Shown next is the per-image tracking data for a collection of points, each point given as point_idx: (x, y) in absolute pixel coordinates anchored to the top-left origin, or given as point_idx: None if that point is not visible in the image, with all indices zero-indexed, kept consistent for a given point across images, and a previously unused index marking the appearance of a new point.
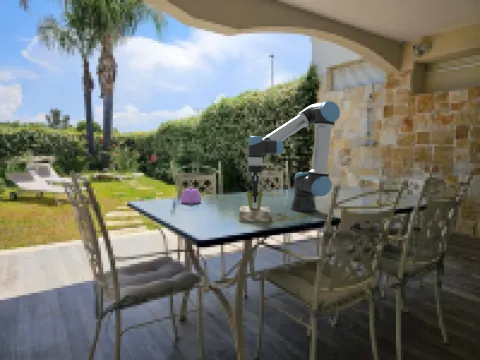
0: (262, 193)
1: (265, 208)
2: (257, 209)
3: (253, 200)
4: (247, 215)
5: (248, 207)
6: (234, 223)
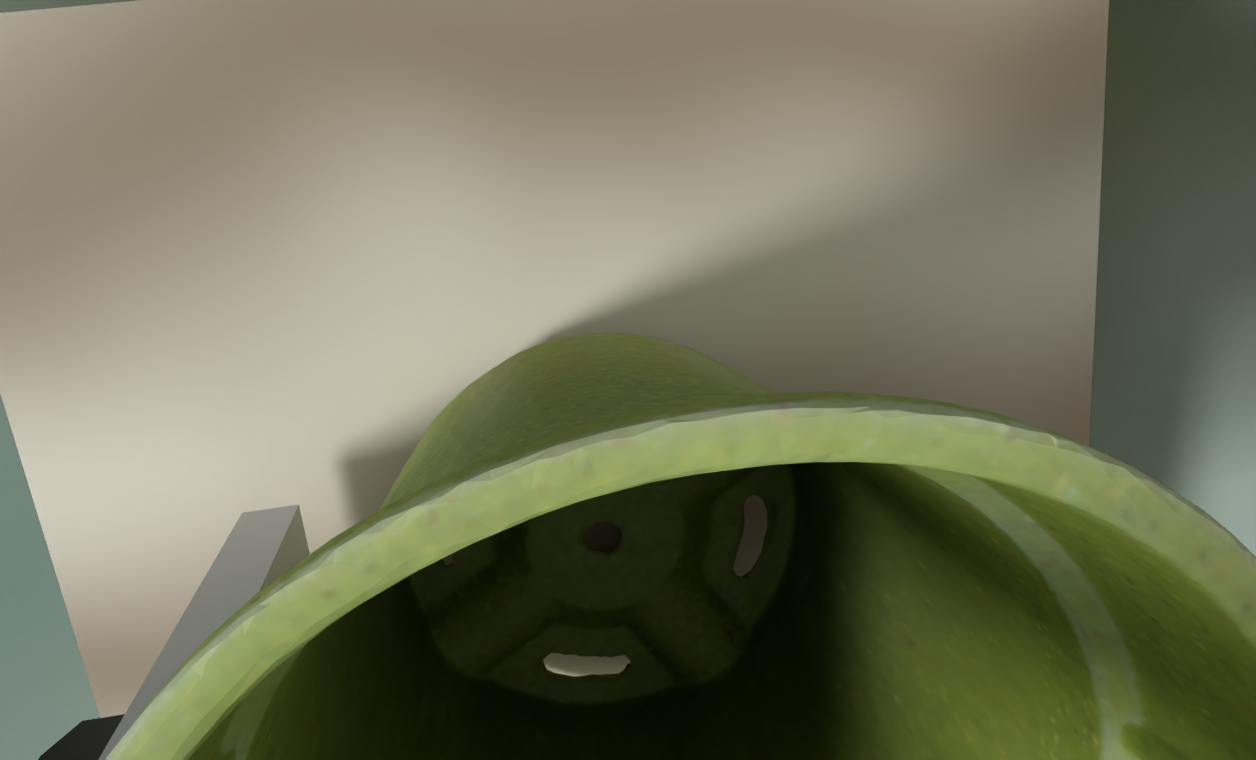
0: (1114, 467)
1: (430, 135)
2: None
3: None
4: None
5: None
6: None
